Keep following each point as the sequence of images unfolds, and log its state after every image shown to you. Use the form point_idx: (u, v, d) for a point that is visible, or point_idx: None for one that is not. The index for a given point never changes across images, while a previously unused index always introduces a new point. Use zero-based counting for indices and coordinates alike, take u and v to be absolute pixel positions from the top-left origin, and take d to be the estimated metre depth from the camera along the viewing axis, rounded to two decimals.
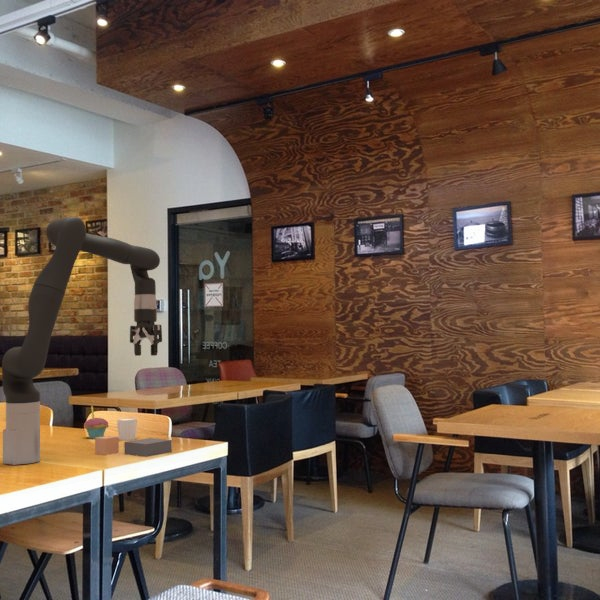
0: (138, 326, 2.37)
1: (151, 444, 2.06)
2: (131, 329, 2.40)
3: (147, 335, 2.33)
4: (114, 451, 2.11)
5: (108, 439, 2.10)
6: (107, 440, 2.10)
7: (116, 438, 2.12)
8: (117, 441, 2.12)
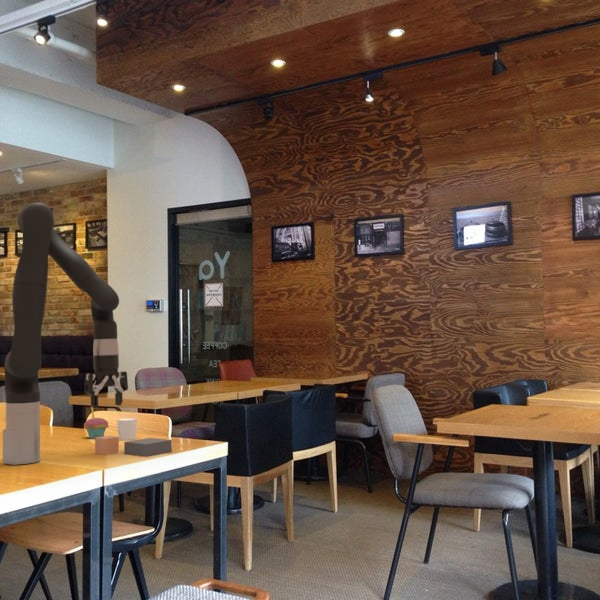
0: (101, 374, 2.11)
1: (151, 444, 2.06)
2: (91, 378, 2.08)
3: (118, 383, 2.15)
4: (114, 451, 2.11)
5: (108, 439, 2.10)
6: (107, 440, 2.10)
7: (116, 438, 2.12)
8: (117, 441, 2.12)
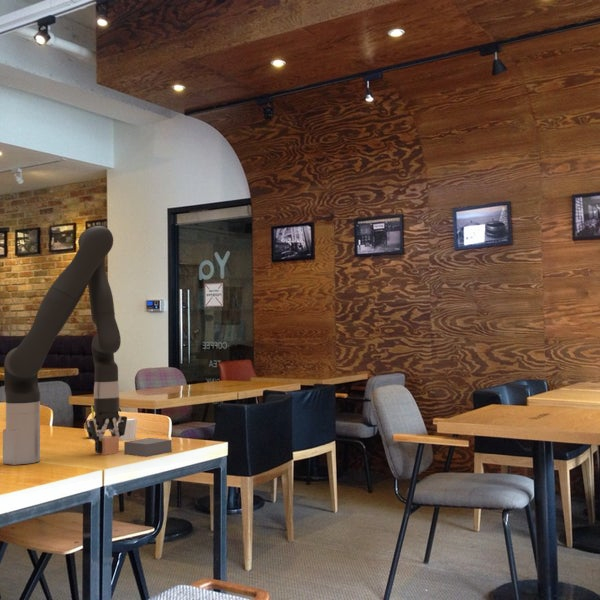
0: (101, 416, 2.10)
1: (152, 444, 2.06)
2: (92, 424, 2.07)
3: (116, 427, 2.13)
4: (114, 451, 2.11)
5: (108, 439, 2.10)
6: (107, 440, 2.10)
7: (116, 438, 2.12)
8: (117, 441, 2.12)
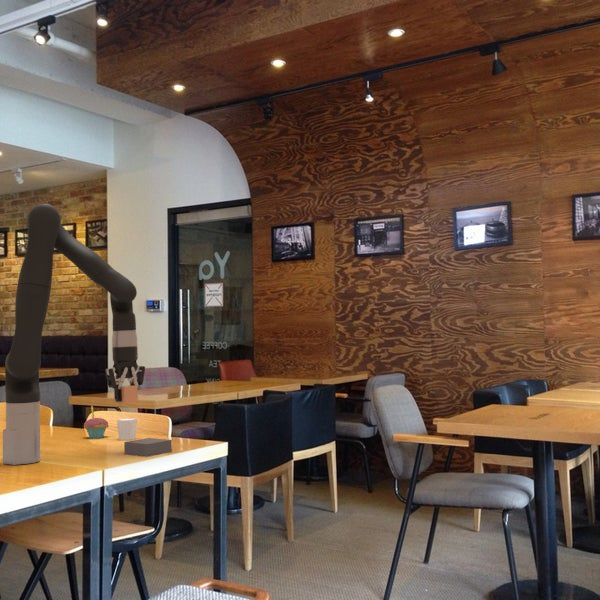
0: (120, 365, 2.11)
1: (152, 444, 2.06)
2: (112, 372, 2.08)
3: (135, 376, 2.14)
4: (133, 399, 2.12)
5: (127, 387, 2.11)
6: (126, 388, 2.10)
7: (135, 387, 2.13)
8: (136, 390, 2.13)
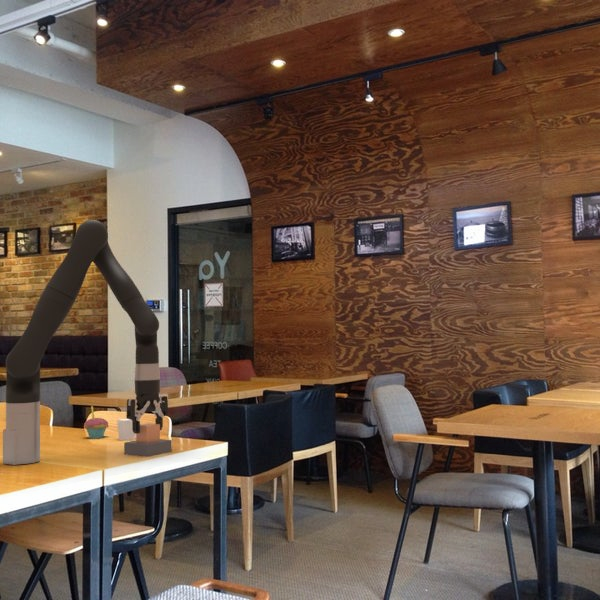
0: (143, 399, 2.09)
1: (153, 444, 2.06)
2: (133, 403, 2.06)
3: (159, 408, 2.13)
4: (155, 439, 2.10)
5: (150, 426, 2.09)
6: (149, 427, 2.09)
7: (157, 426, 2.11)
8: (158, 429, 2.11)
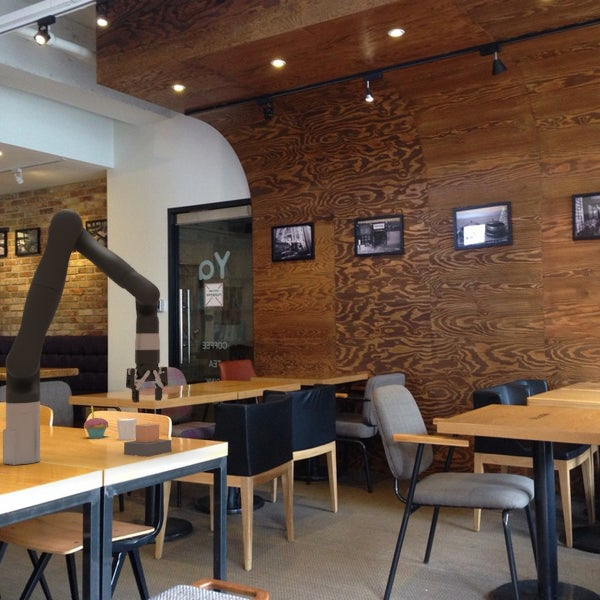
0: (143, 369, 2.10)
1: (152, 444, 2.06)
2: (133, 372, 2.07)
3: (158, 378, 2.13)
4: (155, 439, 2.10)
5: (149, 426, 2.09)
6: (148, 427, 2.08)
7: (157, 426, 2.11)
8: (158, 429, 2.11)
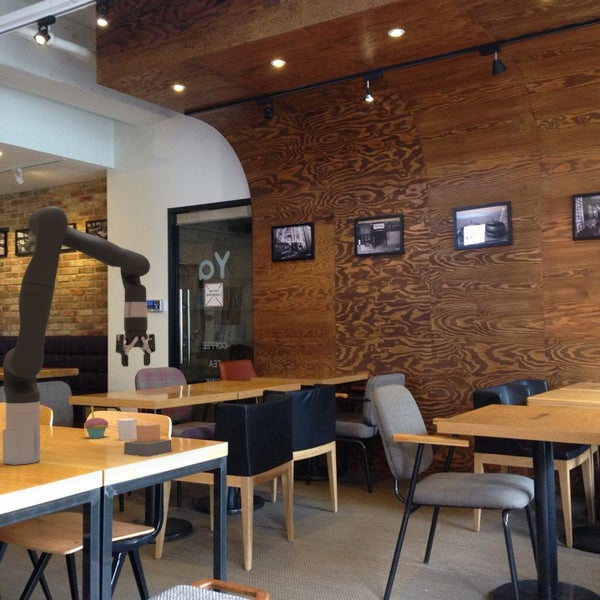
0: (132, 335, 2.23)
1: (153, 444, 2.06)
2: (122, 338, 2.20)
3: (146, 344, 2.27)
4: (155, 439, 2.10)
5: (150, 426, 2.09)
6: (149, 427, 2.09)
7: (157, 426, 2.11)
8: (158, 429, 2.11)
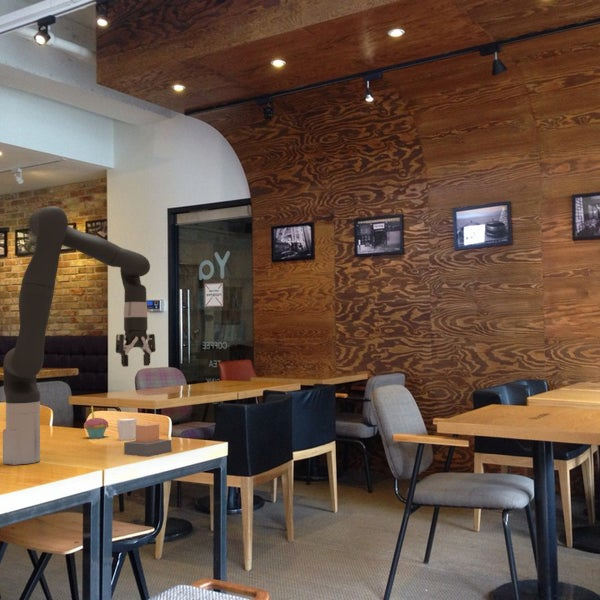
0: (131, 335, 2.23)
1: (153, 444, 2.06)
2: (122, 338, 2.20)
3: (146, 344, 2.27)
4: (155, 439, 2.10)
5: (149, 426, 2.09)
6: (148, 427, 2.09)
7: (157, 426, 2.11)
8: (158, 429, 2.11)
